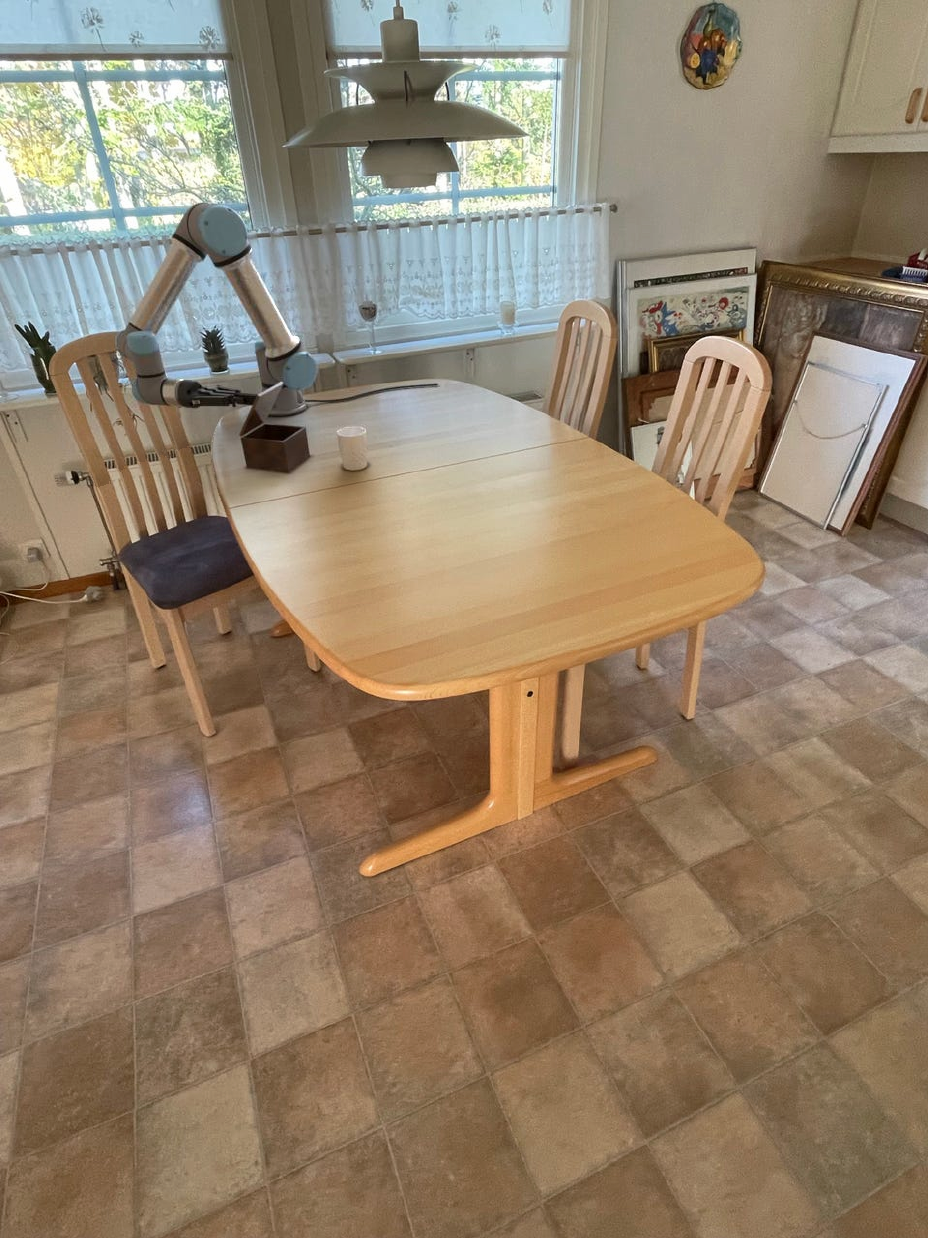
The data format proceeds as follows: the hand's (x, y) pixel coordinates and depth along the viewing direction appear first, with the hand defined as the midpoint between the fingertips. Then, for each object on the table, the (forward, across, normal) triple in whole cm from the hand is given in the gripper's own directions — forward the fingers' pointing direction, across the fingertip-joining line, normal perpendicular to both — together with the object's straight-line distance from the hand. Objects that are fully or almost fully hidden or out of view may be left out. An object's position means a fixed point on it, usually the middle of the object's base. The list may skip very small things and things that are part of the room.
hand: (257, 399), depth 189 cm
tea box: (+3, 0, -18) cm, 18 cm away
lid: (+1, 0, -3) cm, 3 cm away
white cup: (+26, -3, -18) cm, 31 cm away
